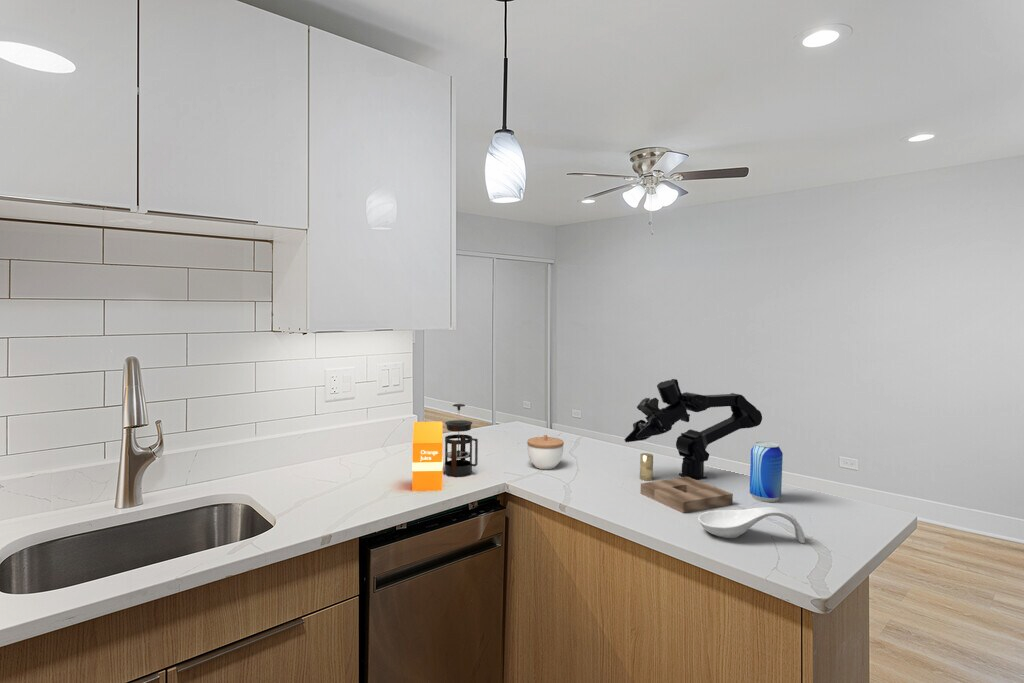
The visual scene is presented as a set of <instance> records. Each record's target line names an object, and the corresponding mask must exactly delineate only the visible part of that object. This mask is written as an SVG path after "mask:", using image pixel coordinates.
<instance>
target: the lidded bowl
mask: <svg viewBox="0 0 1024 683" xmlns="http://www.w3.org/2000/svg"><path fill="white" fill-rule="evenodd" d="M526 442H527V443H526V444H527V454H528V458H529V460H530V462H531V463H532V465H533V466H534V467H535V468H536V469H538V468H539V470H552V468H553V469H555V468H556V466H558V464H559V463H560V462H561V460H562V458H563V454H564V444H565V442H564V440H563V439H561V438H557V437H553V436H548V434H544V435H543V436H537V437H530V438H529V439H527V441H526Z"/></svg>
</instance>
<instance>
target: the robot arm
mask: <svg viewBox="0 0 1024 683" xmlns="http://www.w3.org/2000/svg"><path fill="white" fill-rule="evenodd" d="M656 387H657V391H658V393H659V396H660V398H661V401H662V403H664V404H666V406H665V407H662V408H659V399H658V398H657V397H653V398H651V397H645V398H643V399H641V401H640V402H639V403H638V405H637V406H636V409H637V410H638V411H640V412H641V413H642V414H644V415H645V417H644V418H645V419H646V420H643V419H640V420H637V421H635V422H634V423H632V427H633V429H632V431H630V433H629V434H628V435H627V436H626V437H625V438H624V442H625V443H631V442H639V441H640V442H641V441H645V440H647V439H649V438H651V437H653V436H661V435H663V434H665V433H668V432H669V431H671V430H672V428H673V426H674V425H675V423H677V422H679V421H682V422H685V423H689V422H690V416H691V414H690V413H688V411H690V412H693V413H701V412H704V411H706V410H708V409H710V408H721V407H730V411H731V412H732V414H731V415H730V417H728V418H727V419H726V418H725V419H724V420H722V421H720V422H718V423H716V424H713V425H711V426H709V427H707V428H706V429H703V430H701V431H698V430H694V429H687V431H685V432H681V433H680V435H679V436H678V437H677V438H676V443H675V448H676V449H677V451H678V454H679V455H678V456H680V457H683V458H682V462H681V473H680V472H679V473H678V475H679V476H680V475H681V477H690V478H692V479H695V480H702V479H701V478H703V479H707V478H708V476H707V475H705V472H704V470H705V465H704V464H705V462H707V461H708V460H709V457H710V453H709V452H708V451H707V450H706V449H707V447H708V446H709V445H710V444H712V443H714V442H716V441H718V440H720V439H722V438H724V437H726V436H728V435H730V434H732V433H735V432H737V431H739V430H742V429H743V430H744V429H752V428H756V427H758V426H760V425H761V424H762V421H763V415H762V412H761V411H760V410H759V409H757V408H756V406H755V405H753V404H752V403H751V402H750V401H748V400H747V399H746V397H745V396H744V395H742V394H738V393H734V392H731V393H725V394H724V393H722V394H699V393H694V392H688V391H686V392H683V393H682V391H681V389H680V384H679V381H678V379H676V378H671V379H670V380H669V379H668V380H664V381H660V382H658V384H657V385H656Z"/></svg>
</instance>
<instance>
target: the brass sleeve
mask: <svg viewBox="0 0 1024 683" xmlns="http://www.w3.org/2000/svg"><path fill="white" fill-rule="evenodd" d="M639 459H640V460H639V461H640V462H639V480H640V479H641V481H643V480H644V481H643V482H652V481H653V479H654V478H653V475H654V474H653V473H654V472H653V471H654V454H652V453H647V452H645V453H644V452H643V453H640V458H639ZM651 480H652V481H651Z"/></svg>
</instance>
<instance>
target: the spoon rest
mask: <svg viewBox="0 0 1024 683" xmlns="http://www.w3.org/2000/svg"><path fill="white" fill-rule="evenodd" d="M771 516H773V517H774V516H778V517H781V518H784V519H785V520H787V521H789V522H790V523H791V524H792V525H793V527H794V533H795V538H796V539H797V541H798V542H799V543H800V544H805V542H806V541H805V532H804V531H803V528H802V527H801V525H800V523H799V522H798V520H797V519H796V518H795V516H794V515H792V514H791V513H789V512H788V511H786V510H784V509H782V508H781V509H780V508H778V507H773V506H763V507H761V506H760V507H755V508H754V507H753V508H746V509H733V510H729V509H728V510H726V509H725V510H723V509H721V510H718V509H717V510H709V511H706V512H703V513H700V514H699V515H698V518H697V519H698V522H699V524H700V525H701V527H702V528H703V529H704V530H705V531H707V532H709V533H710V534H711V535H713V536H716V537H719V538H723V539H724V538H725V539H736V538H739V537H740V536H742V535H743V534H744V533H746V532H747V531H748V530H749V529H751V528H752V527H753V526H754V525H755V524H757V523H759V521H761V520H763V519H764V518H768V517H771Z"/></svg>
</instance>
